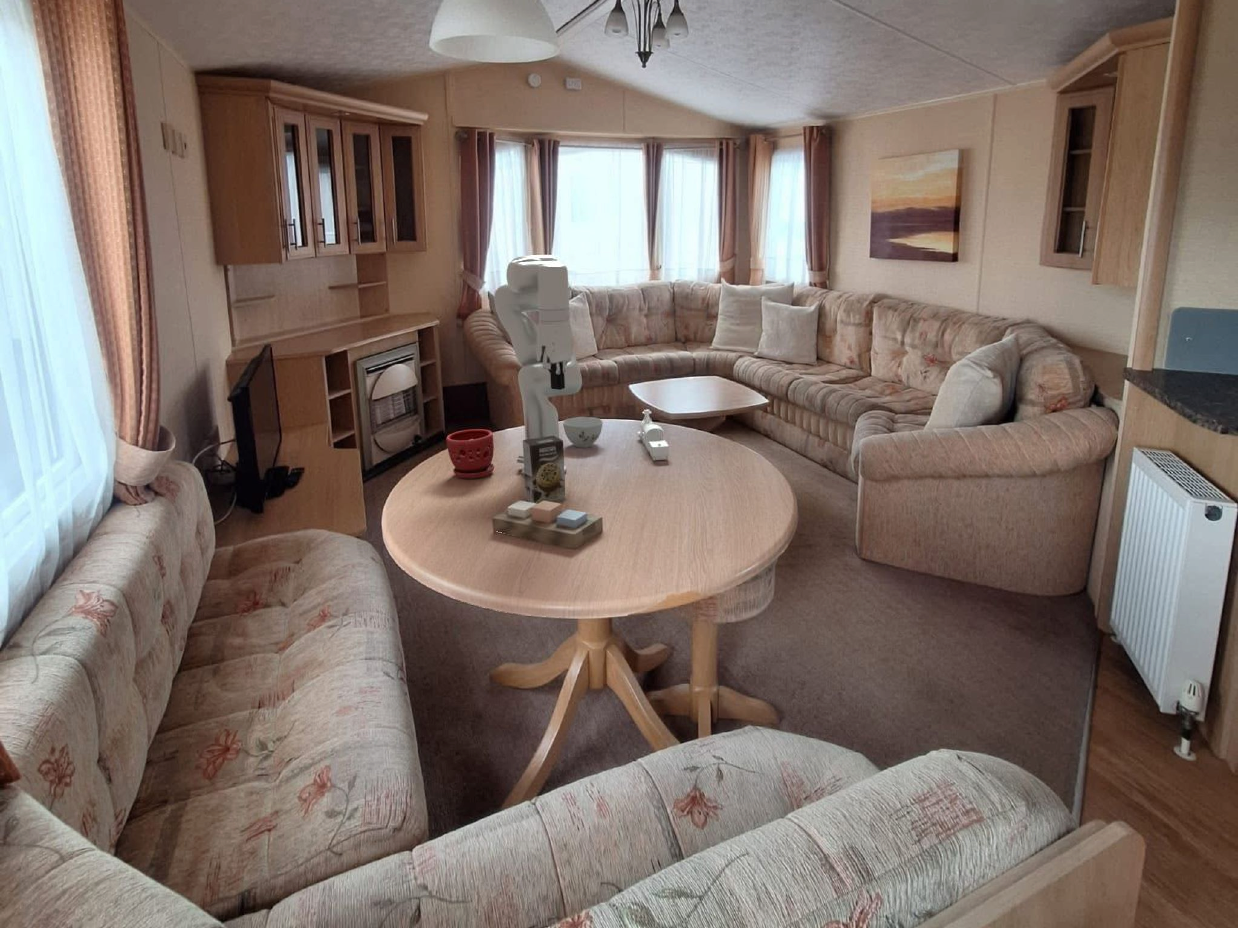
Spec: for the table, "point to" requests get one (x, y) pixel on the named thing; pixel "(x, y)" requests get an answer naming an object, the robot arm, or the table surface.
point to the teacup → (582, 430)
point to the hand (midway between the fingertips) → (557, 388)
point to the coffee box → (544, 469)
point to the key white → (521, 509)
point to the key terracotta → (546, 511)
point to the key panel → (548, 529)
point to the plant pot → (471, 452)
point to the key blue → (572, 518)
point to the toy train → (653, 438)
